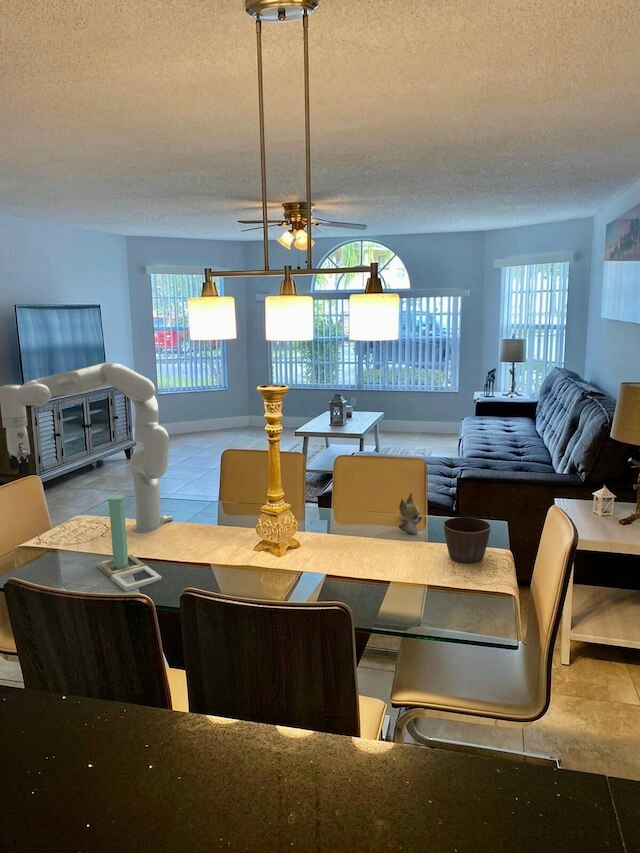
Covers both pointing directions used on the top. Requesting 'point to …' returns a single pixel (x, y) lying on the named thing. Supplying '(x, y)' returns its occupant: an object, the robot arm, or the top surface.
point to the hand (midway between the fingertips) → (19, 471)
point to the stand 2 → (134, 585)
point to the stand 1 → (109, 572)
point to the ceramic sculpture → (409, 516)
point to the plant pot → (466, 539)
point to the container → (118, 530)
